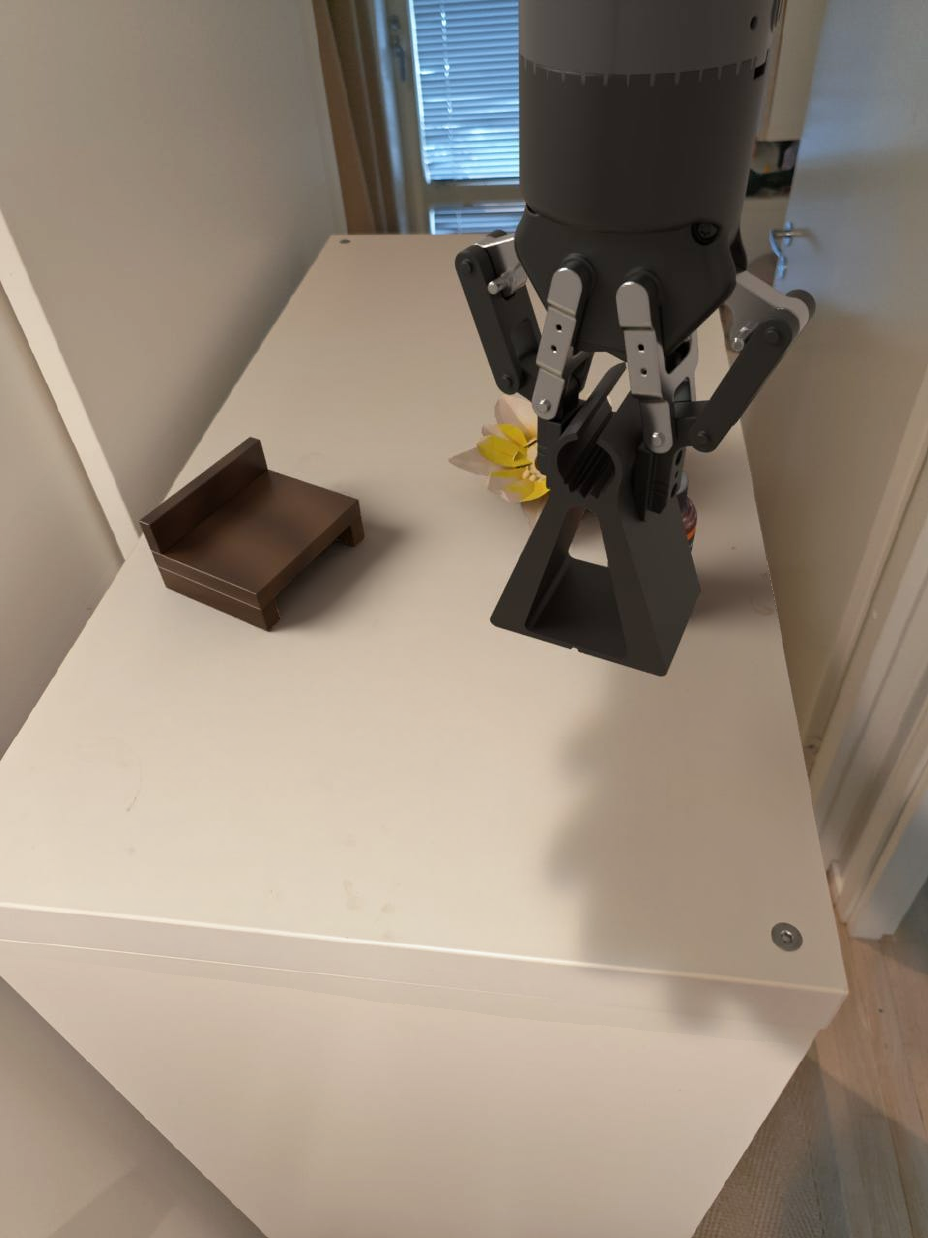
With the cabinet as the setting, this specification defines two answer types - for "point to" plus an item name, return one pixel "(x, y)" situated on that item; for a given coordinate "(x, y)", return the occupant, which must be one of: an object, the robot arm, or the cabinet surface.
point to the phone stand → (636, 551)
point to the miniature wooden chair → (245, 533)
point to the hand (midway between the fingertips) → (605, 494)
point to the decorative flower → (510, 456)
